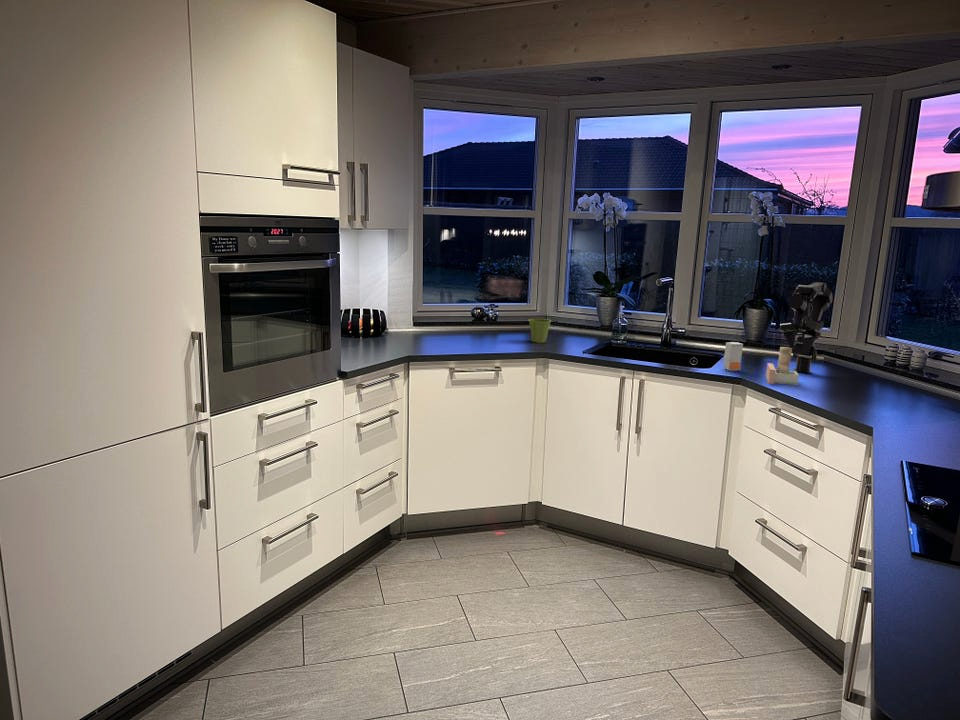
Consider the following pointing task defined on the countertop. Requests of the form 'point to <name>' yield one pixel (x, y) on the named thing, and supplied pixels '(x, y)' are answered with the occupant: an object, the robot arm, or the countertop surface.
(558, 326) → the countertop surface
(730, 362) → the skincare box
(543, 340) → the plant pot
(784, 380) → the cradle
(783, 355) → the dowel
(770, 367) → the backstop wall
